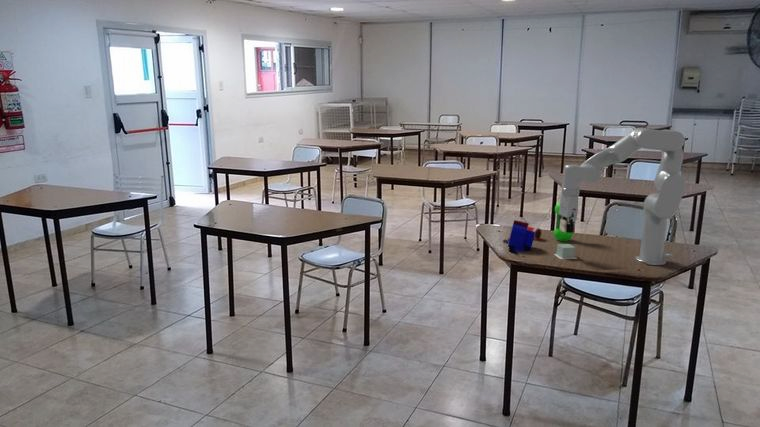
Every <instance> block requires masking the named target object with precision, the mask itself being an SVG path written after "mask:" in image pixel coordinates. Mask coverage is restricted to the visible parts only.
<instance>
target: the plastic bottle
mask: <svg viewBox="0 0 760 427" xmlns="http://www.w3.org/2000/svg"><path fill="white" fill-rule="evenodd" d="M559 205H560V201H558V202H557V203H556V205H555V206H554V214H556V222H555V223H556V224H555V228H554V230H553V236H554V238H555V239H557V241H559V242H568V241H569V240H571V239H572V238H573V236H574V232H573V233H567V232H563V231H561V230H559V228H560V219H561V215H560V214H559ZM570 217H572V216H570Z"/></svg>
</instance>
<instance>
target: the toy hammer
mask: <svg viewBox="0 0 760 427" xmlns="http://www.w3.org/2000/svg"><path fill="white" fill-rule="evenodd" d="M527 230H530V231H534V232H535V235H534V239H533V240H535V241H536V240H540V239H541V237H542V233H543V232H542V229H541V228H539V227H531V226H528V227H527ZM509 239H510V237H509V238H507V239H506V238H505V239H503V240H502V242H503V243H505V244H508V243H509Z"/></svg>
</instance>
